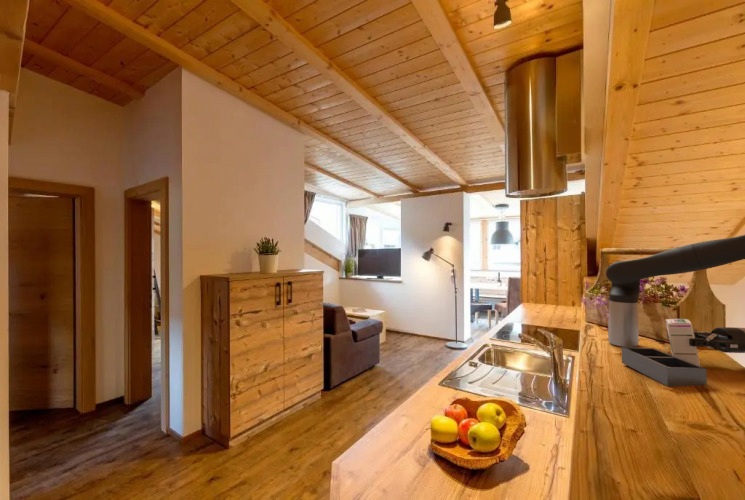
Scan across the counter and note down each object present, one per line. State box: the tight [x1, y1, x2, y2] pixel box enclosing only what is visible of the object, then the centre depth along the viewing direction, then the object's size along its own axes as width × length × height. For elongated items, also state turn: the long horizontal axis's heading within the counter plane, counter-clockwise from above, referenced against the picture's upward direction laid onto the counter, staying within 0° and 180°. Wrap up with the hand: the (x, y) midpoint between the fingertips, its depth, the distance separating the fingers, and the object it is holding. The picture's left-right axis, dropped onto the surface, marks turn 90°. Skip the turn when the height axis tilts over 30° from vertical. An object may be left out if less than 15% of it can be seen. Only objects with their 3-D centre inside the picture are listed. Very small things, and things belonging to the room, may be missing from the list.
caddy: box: [621, 346, 708, 387], centre depth 95 cm, size 18×10×5 cm, turn 174°
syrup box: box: [665, 318, 701, 367], centre depth 100 cm, size 6×6×14 cm
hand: (679, 338), depth 100 cm, fingers closed on syrup box, 7 cm apart
